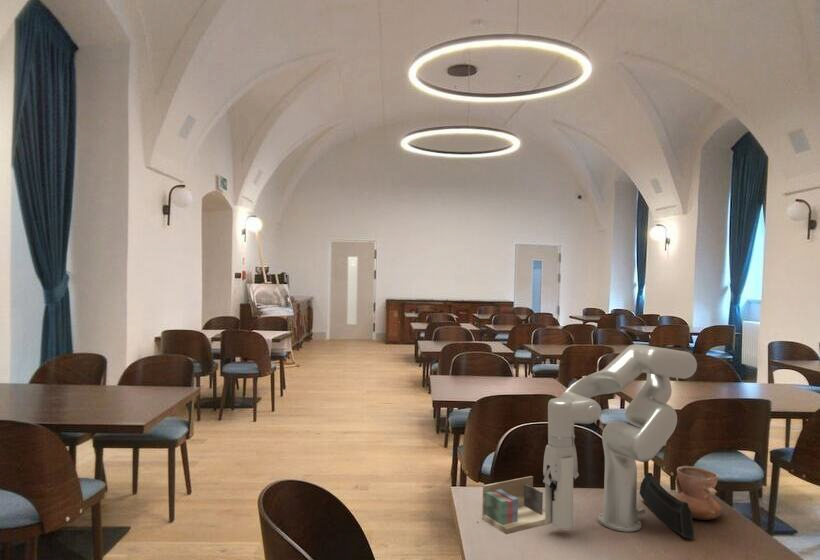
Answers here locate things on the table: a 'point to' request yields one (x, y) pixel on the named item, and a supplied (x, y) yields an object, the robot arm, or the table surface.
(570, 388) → the robot arm
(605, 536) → the table surface
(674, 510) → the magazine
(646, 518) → the table surface
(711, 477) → the ceramic jug
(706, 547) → the table surface
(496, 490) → the book rack
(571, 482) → the paper towel roll
